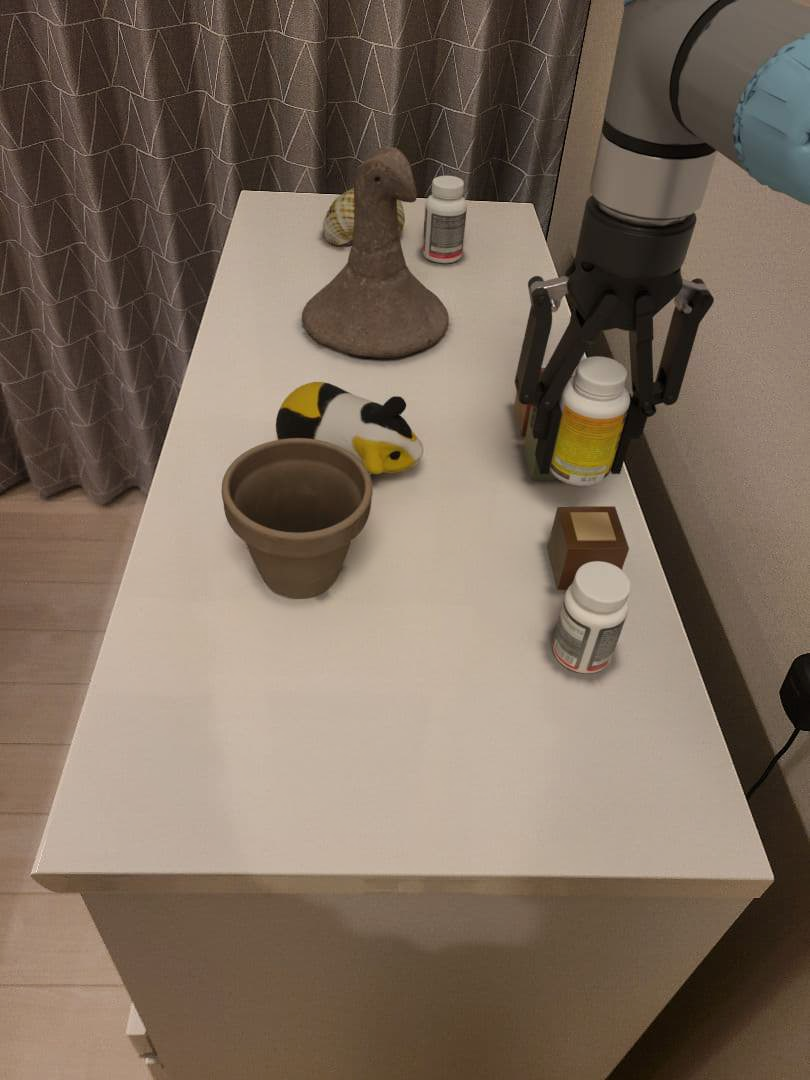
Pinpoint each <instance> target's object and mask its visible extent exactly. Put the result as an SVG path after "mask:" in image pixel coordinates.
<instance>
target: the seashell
mask: <svg viewBox="0 0 810 1080" xmlns="http://www.w3.org/2000/svg"><path fill="white" fill-rule="evenodd" d="M354 213H355V209H354V187H352V188H351V189H349V190H346V191H344V192H343V193H342V194H341V195H338V196H337V197H336V198H335V199H334V200H333V201H332V203H331V205H330V206H329V208H328V210H327V211H326V213H325V217H324V218H323V222H322V228H323V229H322V230H323V235H324V239H325V240H326V241H327V243H329V244H331V245H333V246H342V245H345V244H347V243H350V242H351V241H352V242H353V230H354ZM397 216H398V228H399V235H400V234H401V233H402V231H403V229H404V226H405V222H406V215H405V210H404V205H403V201H400V200H398V199H397Z"/></svg>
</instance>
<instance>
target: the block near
mask: <svg viewBox="0 0 810 1080" xmlns="http://www.w3.org/2000/svg"><path fill="white" fill-rule="evenodd" d="M549 535H550V536H549V540H548V544H547V552H548V555H549V560H550V565H551V568H552V572H553V576H554V580H555V585H556V589H557V591H564V590H565V591H567V589H568V588H569V586H570V585H571V584H572V583H573V581H574V578H575V575H576V573H577V571H578V569H579V568H580V567H581V566H582V565H584V564H586V563H589V562H594V561H601V562H607V563H610V564H613V565H615V566H617V567H618V568H620V569H621V570H622V571H623V568H624V565H625V562H626V559H627V556H628V553H629V551H630V546H629V544H628V541H627V539H626V535H625V532H624V529H623V525H622V523H621V520H620V517H619V514H618V511H617V508H616V506H615V505H614V506H613V505H612V506H611V505H610V506H607V505H605V506H602V505H599V506H596V505H595V506H591V505H589V506H585V505H583V506H556V510H555V515H554V518H553V523H552V526H551V531H550V534H549Z"/></svg>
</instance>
